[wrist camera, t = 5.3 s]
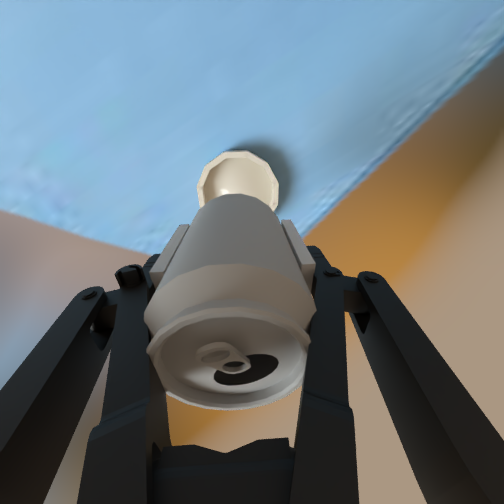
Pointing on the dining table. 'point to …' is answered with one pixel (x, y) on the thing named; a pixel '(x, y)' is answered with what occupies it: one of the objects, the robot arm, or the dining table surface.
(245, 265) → the can
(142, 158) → the dining table surface
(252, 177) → the bowl
